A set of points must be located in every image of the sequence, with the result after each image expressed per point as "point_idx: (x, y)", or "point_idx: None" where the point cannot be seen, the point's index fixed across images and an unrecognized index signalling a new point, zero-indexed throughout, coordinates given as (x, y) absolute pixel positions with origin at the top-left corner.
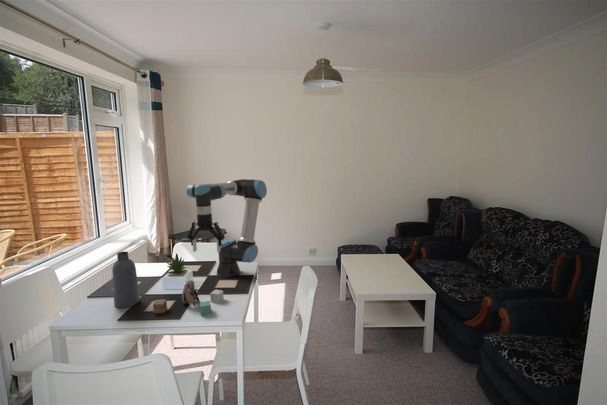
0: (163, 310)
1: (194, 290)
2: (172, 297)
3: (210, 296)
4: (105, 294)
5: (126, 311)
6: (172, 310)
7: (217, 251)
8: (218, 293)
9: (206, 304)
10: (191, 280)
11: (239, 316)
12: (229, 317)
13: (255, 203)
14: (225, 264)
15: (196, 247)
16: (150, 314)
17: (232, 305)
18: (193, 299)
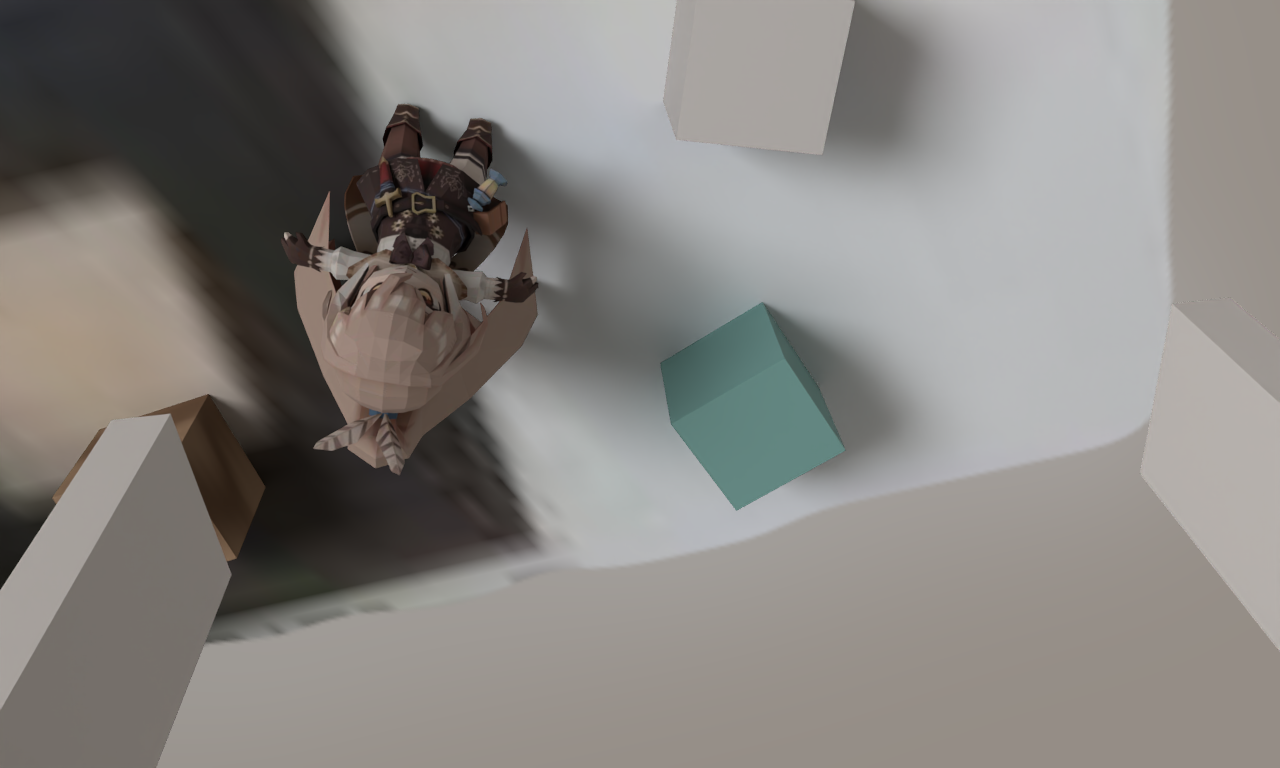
0: (256, 506)
1: (450, 260)
2: (10, 113)
3: (672, 124)
4: None
5: None
6: (319, 422)
7: (1171, 502)
8: (814, 120)
9: (786, 449)
10: (395, 363)
11: (1159, 359)
12: (1051, 401)
13: None
14: None
15: (133, 501)
16: None
17: (1013, 136)
18: (510, 327)
